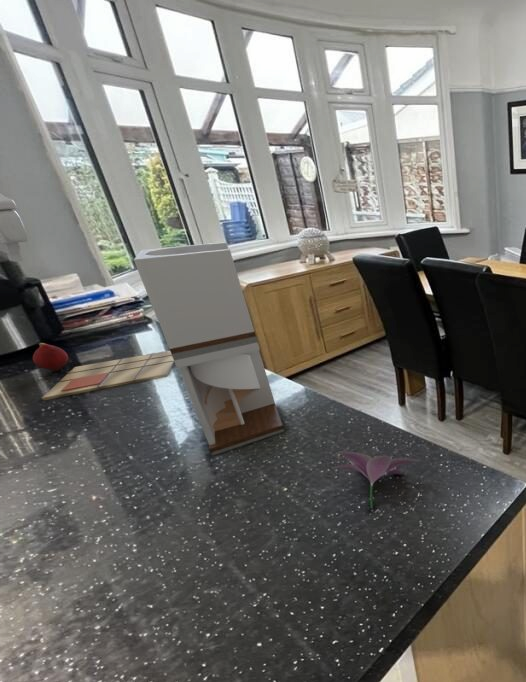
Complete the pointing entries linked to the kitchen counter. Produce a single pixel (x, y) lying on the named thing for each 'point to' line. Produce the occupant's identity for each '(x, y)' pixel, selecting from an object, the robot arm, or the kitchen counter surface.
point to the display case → (211, 341)
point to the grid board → (112, 374)
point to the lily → (373, 466)
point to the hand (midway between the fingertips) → (5, 260)
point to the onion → (50, 357)
